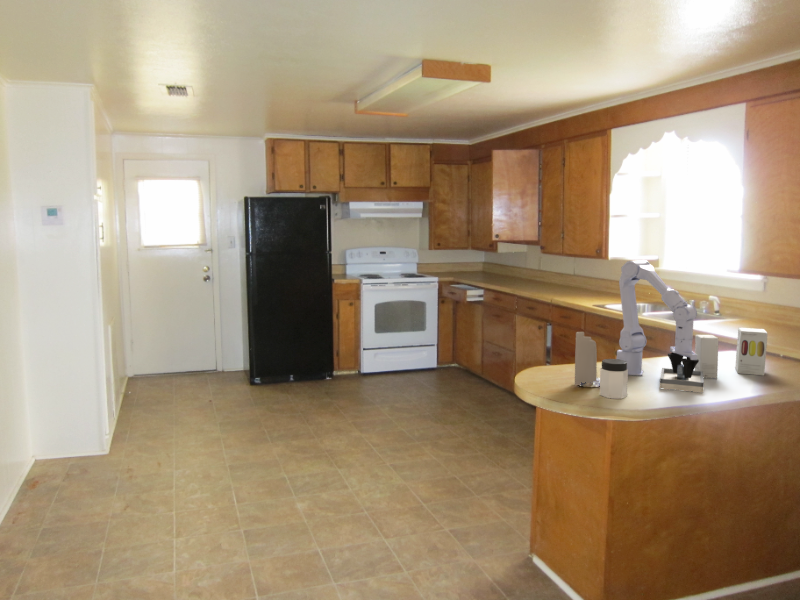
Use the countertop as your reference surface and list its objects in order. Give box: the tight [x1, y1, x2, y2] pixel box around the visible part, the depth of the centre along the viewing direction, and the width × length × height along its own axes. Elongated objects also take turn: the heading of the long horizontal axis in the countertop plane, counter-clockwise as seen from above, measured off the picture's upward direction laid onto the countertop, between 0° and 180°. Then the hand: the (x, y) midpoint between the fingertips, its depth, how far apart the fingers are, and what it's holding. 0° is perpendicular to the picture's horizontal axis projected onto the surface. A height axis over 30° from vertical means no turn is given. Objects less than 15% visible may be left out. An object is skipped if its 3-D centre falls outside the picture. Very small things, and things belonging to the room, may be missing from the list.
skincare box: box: [694, 334, 720, 379], centre depth 241 cm, size 8×7×16 cm
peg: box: [677, 363, 687, 380], centre depth 231 cm, size 3×3×7 cm
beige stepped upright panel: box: [574, 331, 598, 386], centre depth 229 cm, size 7×14×20 cm, turn 91°
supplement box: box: [734, 327, 769, 376], centre depth 247 cm, size 10×9×17 cm
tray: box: [659, 367, 705, 394], centre depth 230 cm, size 14×18×4 cm
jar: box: [599, 358, 629, 400], centre depth 216 cm, size 9×8×12 cm
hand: (681, 375), depth 231 cm, fingers open, 7 cm apart
